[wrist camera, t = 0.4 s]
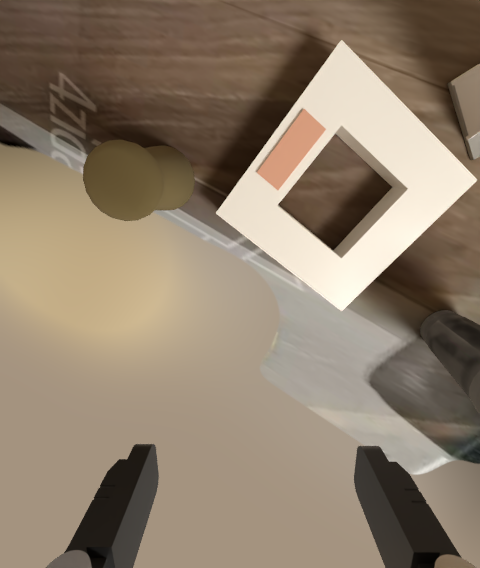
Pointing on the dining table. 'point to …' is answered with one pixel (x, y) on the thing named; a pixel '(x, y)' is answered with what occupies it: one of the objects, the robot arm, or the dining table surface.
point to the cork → (137, 179)
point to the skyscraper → (468, 108)
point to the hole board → (374, 151)
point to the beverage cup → (456, 349)
